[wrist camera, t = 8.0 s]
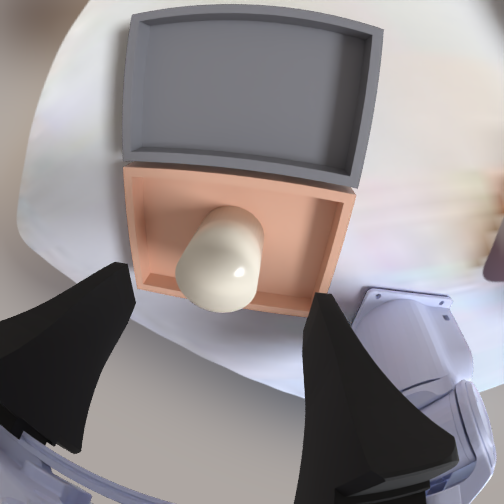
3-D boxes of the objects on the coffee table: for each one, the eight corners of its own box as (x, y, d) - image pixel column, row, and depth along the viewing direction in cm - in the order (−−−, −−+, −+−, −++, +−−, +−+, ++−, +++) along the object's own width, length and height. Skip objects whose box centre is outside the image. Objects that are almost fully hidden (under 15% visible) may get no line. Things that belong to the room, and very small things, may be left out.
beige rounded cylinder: (269, 212, 17) (263, 254, 13) (259, 268, 20) (251, 318, 15) (201, 201, 17) (174, 239, 13) (199, 257, 20) (176, 304, 15)
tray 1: (370, 38, 11) (383, 29, 9) (348, 176, 16) (357, 188, 14) (150, 22, 12) (131, 14, 10) (141, 152, 17) (122, 161, 15)
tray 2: (347, 182, 17) (356, 195, 14) (315, 297, 22) (317, 318, 19) (141, 157, 17) (123, 167, 15) (149, 270, 22) (137, 288, 20)
